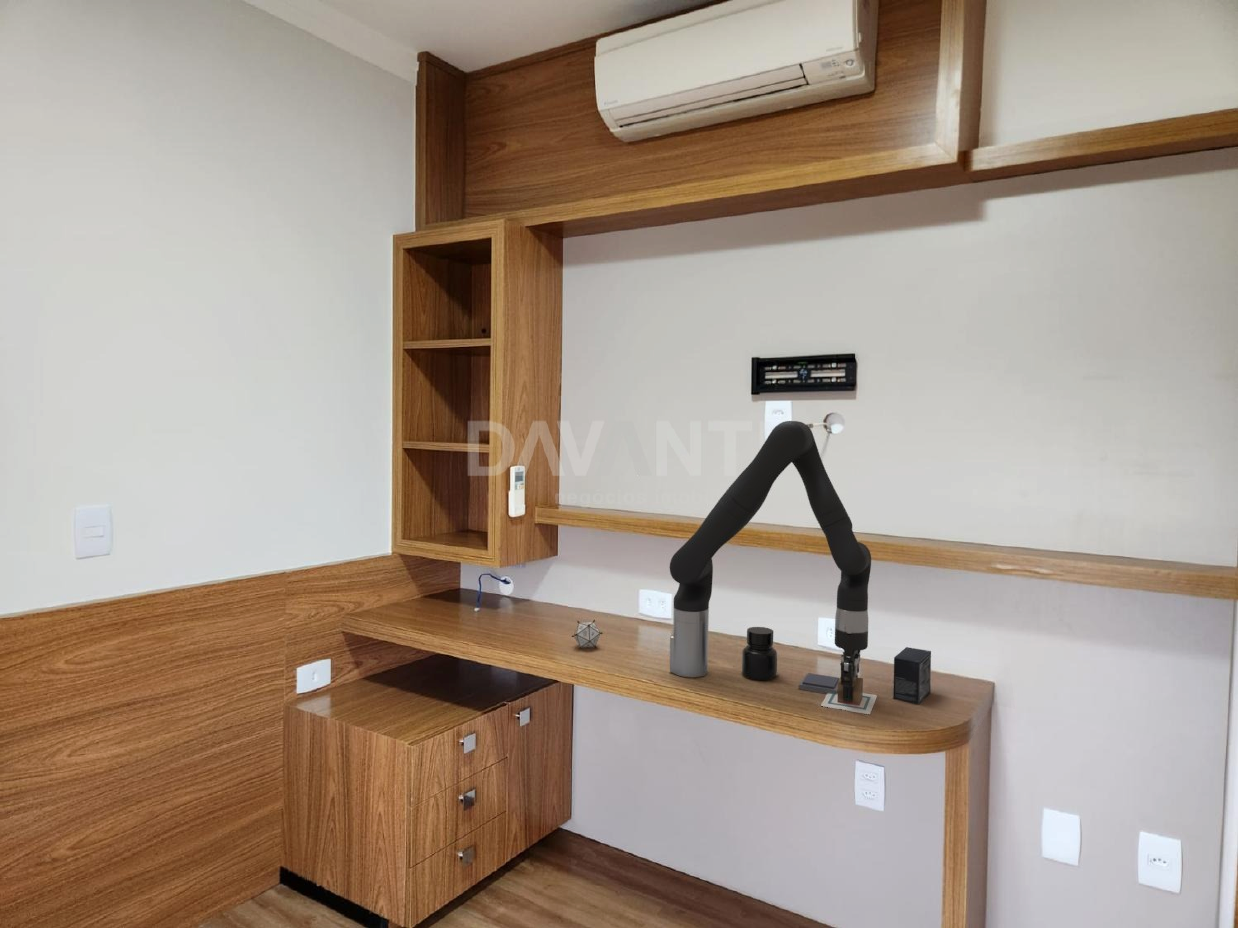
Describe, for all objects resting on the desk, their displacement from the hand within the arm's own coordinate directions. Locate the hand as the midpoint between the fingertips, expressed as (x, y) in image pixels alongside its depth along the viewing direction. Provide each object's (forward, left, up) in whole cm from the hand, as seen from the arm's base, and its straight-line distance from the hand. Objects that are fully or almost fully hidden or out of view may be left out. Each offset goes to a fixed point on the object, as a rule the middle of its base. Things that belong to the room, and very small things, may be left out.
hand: (849, 696), depth 179 cm
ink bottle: (-24, +8, -1) cm, 25 cm away
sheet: (0, 0, -1) cm, 1 cm away
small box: (+13, +11, -1) cm, 17 cm away
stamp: (0, 0, -1) cm, 1 cm away
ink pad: (-8, +7, -1) cm, 11 cm away
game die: (-75, +8, -1) cm, 75 cm away
